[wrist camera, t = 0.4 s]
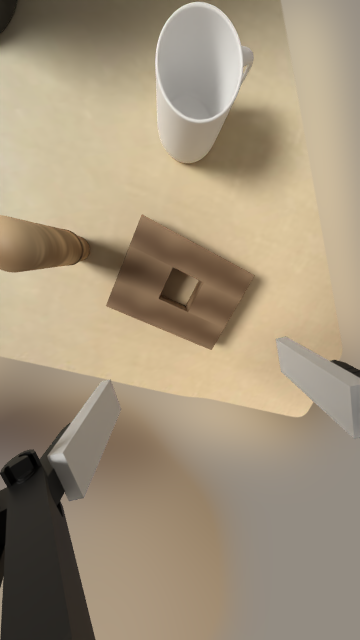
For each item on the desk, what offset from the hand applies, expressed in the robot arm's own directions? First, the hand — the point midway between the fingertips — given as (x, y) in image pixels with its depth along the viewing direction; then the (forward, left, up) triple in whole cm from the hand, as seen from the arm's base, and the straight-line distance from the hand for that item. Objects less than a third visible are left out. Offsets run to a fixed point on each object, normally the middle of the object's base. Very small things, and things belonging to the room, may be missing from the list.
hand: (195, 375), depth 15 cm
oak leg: (-2, -19, -23) cm, 30 cm away
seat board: (-3, -1, -23) cm, 24 cm away
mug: (-26, -9, -24) cm, 36 cm away
